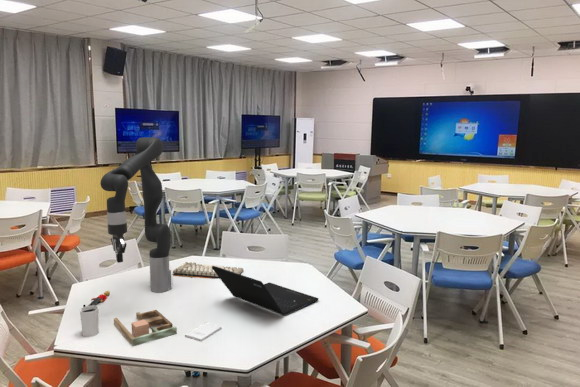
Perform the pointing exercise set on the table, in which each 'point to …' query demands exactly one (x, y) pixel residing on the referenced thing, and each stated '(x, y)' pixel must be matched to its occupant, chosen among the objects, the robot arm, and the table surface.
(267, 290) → the laptop
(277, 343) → the table surface
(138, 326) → the clay block
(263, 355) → the table surface
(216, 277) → the mechanical keyboard
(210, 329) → the external hard drive
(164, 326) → the brown frame
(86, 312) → the drinking glass
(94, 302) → the person figure
